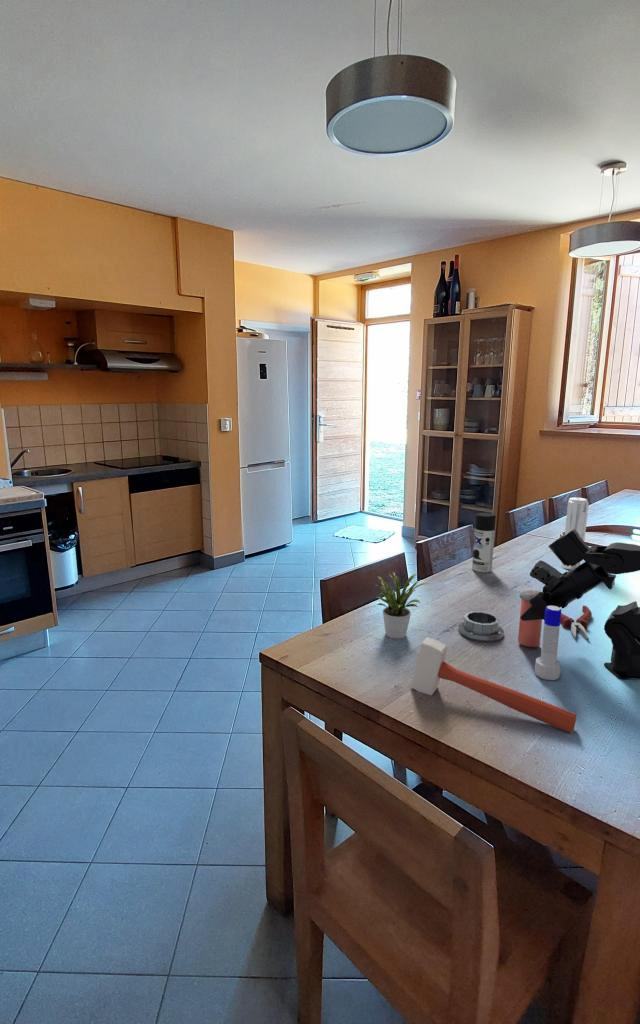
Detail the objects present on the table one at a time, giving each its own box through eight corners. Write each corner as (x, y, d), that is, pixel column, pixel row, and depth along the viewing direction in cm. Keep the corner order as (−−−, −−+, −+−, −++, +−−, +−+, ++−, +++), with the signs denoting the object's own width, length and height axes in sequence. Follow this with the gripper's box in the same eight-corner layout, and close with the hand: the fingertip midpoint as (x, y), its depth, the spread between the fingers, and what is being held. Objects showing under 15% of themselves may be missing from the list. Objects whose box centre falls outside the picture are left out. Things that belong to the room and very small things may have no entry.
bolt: (532, 677, 116) (536, 667, 120) (557, 683, 113) (560, 673, 117) (539, 609, 112) (542, 601, 116) (565, 614, 110) (567, 606, 114)
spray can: (467, 568, 188) (471, 513, 184) (482, 566, 191) (486, 511, 187) (480, 574, 182) (484, 517, 178) (496, 571, 185) (500, 515, 181)
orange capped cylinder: (546, 647, 127) (551, 598, 125) (521, 648, 127) (526, 598, 124) (535, 636, 133) (539, 589, 131) (511, 637, 133) (515, 589, 130)
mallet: (583, 697, 96) (425, 635, 111) (581, 707, 93) (419, 641, 108) (567, 746, 100) (415, 679, 114) (564, 757, 97) (409, 687, 111)
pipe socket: (510, 641, 132) (511, 626, 131) (465, 642, 132) (466, 627, 131) (494, 622, 143) (495, 609, 142) (453, 623, 143) (453, 609, 142)
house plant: (431, 626, 141) (434, 567, 138) (427, 649, 128) (430, 585, 125) (377, 620, 145) (379, 562, 141) (368, 642, 132) (370, 579, 128)
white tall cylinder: (562, 569, 188) (569, 499, 183) (560, 563, 194) (567, 496, 189) (582, 571, 186) (590, 500, 181) (579, 565, 192) (587, 497, 187)
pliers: (555, 640, 134) (556, 630, 133) (542, 609, 154) (543, 600, 153) (607, 646, 131) (609, 635, 131) (587, 613, 151) (588, 604, 151)
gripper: (565, 544, 130) (515, 578, 139) (542, 562, 116) (489, 599, 125) (597, 581, 127) (544, 613, 136) (578, 605, 113) (521, 639, 122)
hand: (525, 615), depth 130 cm, fingers closed on orange capped cylinder, 5 cm apart
